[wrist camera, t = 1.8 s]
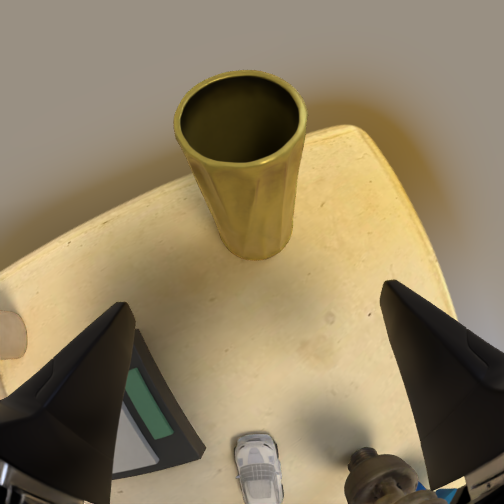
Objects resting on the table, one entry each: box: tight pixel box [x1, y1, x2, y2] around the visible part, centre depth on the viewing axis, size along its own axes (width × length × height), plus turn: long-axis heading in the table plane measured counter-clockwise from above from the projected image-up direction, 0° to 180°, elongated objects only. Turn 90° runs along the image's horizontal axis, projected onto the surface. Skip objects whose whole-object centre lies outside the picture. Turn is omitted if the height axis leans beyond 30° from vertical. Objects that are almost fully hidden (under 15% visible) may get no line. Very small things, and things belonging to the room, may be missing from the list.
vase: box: [173, 70, 308, 260], centre depth 17 cm, size 6×6×14 cm
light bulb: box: [344, 447, 448, 504], centre depth 11 cm, size 6×6×15 cm
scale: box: [112, 329, 206, 480], centre depth 19 cm, size 12×14×3 cm
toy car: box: [234, 434, 284, 504], centre depth 18 cm, size 4×8×3 cm, turn 7°
